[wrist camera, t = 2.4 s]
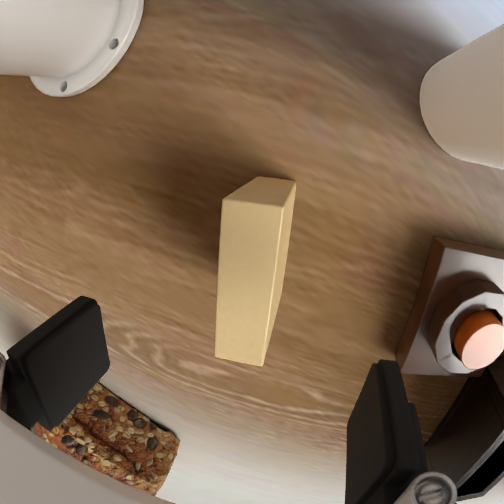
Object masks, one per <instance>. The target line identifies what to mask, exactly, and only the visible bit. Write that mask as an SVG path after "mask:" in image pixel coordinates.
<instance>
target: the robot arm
mask: <svg viewBox="0 0 504 504" xmlns="http://www.w3.org/2000/svg"><path fill="white" fill-rule="evenodd" d="M143 6H144V0H0V75H20V76H30V79H31V81H32V83H33V84H34V85H35V87H36V88H37V89H38V90H39V91H41V92H42V93H44V94H46V95H49V96H55V97H67V96H74V95H77V94H79V93H82V92H84V91H86V90H88V89H89V88H91V87H93V86H94V85H96V84H97V83H98V82H99V81H101V80H102V79H103V78H104V77H105V76H106V75H107V74H108V73H109V72H110V71H111V70H112V69H113V68H114V67H115V66H116V65H117V63H118V62H119V61H120V59H121V58H122V57H123V55H124V54H125V52H126V51H127V49H128V47H129V46H130V44H131V42H132V40H133V38H134V36H135V34H136V31H137V29H138V27H139V24H140V20H141V17H142V13H143ZM7 354H8V357H9V359H8V360H6V359H5V357H4V355H3V354H2V353H0V504H175V503H172V502H169V501H166V500H163V499H161V498H158V497H155V496H153V495H150V494H148V493H145V492H143V491H140V490H138V489H135V488H133V487H131V486H128V485H126V484H124V483H122V482H119V481H117V480H115V479H113V478H111V477H109V476H107V475H105V474H103V473H101V472H99V471H97V470H95V469H93V468H91V467H89V466H87V465H85V464H83V463H82V462H80V461H78V460H76V459H74V458H73V457H71V456H69V455H67V454H66V453H64V452H62V451H61V450H59V449H57V448H56V447H54V446H52V445H51V444H49V443H48V442H46V441H44V440H43V439H41V438H40V437H38V436H37V435H35V424H36V423H37V422H38V423H39V424H40V426H42V427H43V428H45V429H46V430H48V431H50V432H51V430H52V429H53V428H54V427H57V426H59V425H60V424H61V423H62V422H63V421H64V419H65V418H66V417H67V416H68V415H69V414H70V412H71V411H72V410H73V409H74V408H75V407H76V406H77V404H78V403H79V402H80V401H81V400H82V399H83V398H84V396H85V395H86V394H87V393H88V392H89V391H90V390H91V389H92V387H93V386H94V385H95V384H96V383H97V382H98V381H99V380H100V378H101V377H102V376H103V375H104V374H105V373H106V372H107V370H108V369H109V366H110V361H109V356H108V351H107V345H106V340H105V335H104V329H103V323H102V316H101V310H100V306H99V305H98V304H97V301H96V300H94V299H92V298H89V297H85V296H80V297H78V298H77V299H75V300H74V301H72V302H71V303H70V304H68V305H67V306H66V307H64V308H63V309H61V310H60V311H59V312H57V313H56V314H55V315H53V316H52V317H51V318H49V319H48V320H47V321H45V322H44V323H43V324H41V325H40V326H39V327H37V328H36V329H35V330H33V331H32V332H31V333H29V334H28V335H27V336H25V337H24V338H23V339H21V340H20V341H19V342H18V343H16V344H15V345H14V346H12V347H11V348H10V349H9V350H7ZM456 499H457V490H456V486H455V484H454V483H453V481H452V480H451V479H450V478H449V477H447V476H446V475H444V474H442V473H439V472H428V466H427V460H426V455H425V449H424V444H423V439H422V434H421V430H420V425H419V421H418V416H417V412H416V408H415V405H414V404H413V403H408V400H407V396H406V392H405V387H404V383H403V379H402V375H401V371H400V367H399V364H398V362H397V361H391V360H382V359H381V360H379V362H378V364H376V363H373V364H372V366H371V368H370V371H369V373H368V376H367V378H366V381H365V383H364V386H363V388H362V391H361V393H360V395H359V398H358V400H357V402H356V404H355V407H354V409H353V411H352V413H351V416H350V418H349V420H348V424H347V463H346V491H345V504H457V503H455V502H456Z"/></svg>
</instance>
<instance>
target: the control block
mask: <svg viewBox="0 0 504 504" xmlns="http://www.w3.org/2000/svg"><path fill="white" fill-rule="evenodd" d="M480 310H488V311H491V312H492V313H493V314H494V315H495V316H496V317H497V318H498V320H499V321H500V322H501V324H502V325H503V326H504V251H500V250H496V249H492V248H487V247H483V246H478V245H474V244H469V243H464V242H460V241H455V240H450V239H445V238H440V237H434V238H433V242H432V246H431V250H430V253H429V257H428V261H427V264H426V268H425V271H424V275H423V278H422V281H421V284H420V288H419V291H418V294H417V297H416V300H415V303H414V306H413V309H412V312H411V315H410V318H409V320H408V323H407V326H406V329H405V331H404V334H403V336H402V339H401V342H400V344H399V347H398V349H397V352H396V354H395V359H396V361H397V362H398V364H399V367H400V371H401V373H403V374H417V375H436V376H466V377H480V376H481V375H482V373H483V372H484V370H485V368H486V366H485V367H483V368H480V369H469V368H467V367H465V366H464V365H463V363H462V361H461V359H460V357H459V355H458V353H457V351H456V349H455V347H454V335H455V332H456V330H457V328H458V326H459V325H460V324H461V323H462V322H463V321H464V320H465V319H466V317H467V316H469V315H470V314H472V313H474V312H476V311H480ZM503 350H504V349H503Z"/></svg>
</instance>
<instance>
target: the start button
mask: <svg viewBox="0 0 504 504" xmlns="http://www.w3.org/2000/svg"><path fill="white" fill-rule="evenodd" d="M454 347H455V349H456V351H457V353H458V355H459V357H460V359H461V361H462V363H463V365H464V366H465V367H467V368H469V369H480V368H483V367H485V366H487V365H489V364H491V363H492V362H493V361H494V360H495V359H496V358H497V357H498V356H499V355H500V354H501V352H502V351H503V349H504V326H503V325H502V324H501V322H500V321H499V320H498V318H497V317H496V316H495V315H494V314H493V313H492V312H491V311H488V310H480V311H476V312H474V313H472V314H470V315H469V316H467V317H466V319H465V320H464V321H463V322H462V323H461V324H460V325H459V326H458V328H457V330H456V332H455V335H454Z"/></svg>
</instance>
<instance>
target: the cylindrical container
mask: <svg viewBox="0 0 504 504" xmlns="http://www.w3.org/2000/svg"><path fill="white" fill-rule="evenodd" d="M420 109H421V115H422V118H423V120H424V123H425V126H426V128H427V130H428V132H429V133H430V135H431V137H432V138H433V139H434V141H435V142H436V143H437V144H438V145H439V146H440V147H441V148H442V149H443V150H444V151H445V152H447V153H448V154H449V155H451V156H453V157H455V158H457V159H459V160H463V161H468V162H473V163H477V164H482V165H486V166H490V167H495V168H499V169H503V170H504V24H503V25H501V26H499V27H497V28H496V29H494V30H492V31H490V32H488V33H487V34H485V35H483V36H481V37H479V38H478V39H476V40H474V41H472V42H471V43H469V44H467V45H465V46H464V47H462V48H460V49H459V50H457V51H455V52H454V53H452V54H450V55H448V56H447V57H445V58H443V59H442V60H440V61H438V62H437V63H435V64H434V65H433V66H432V67H431V68H430V69H429V70H428V71H427V73H426V74H425V76H424V78H423V81H422V83H421V88H420Z"/></svg>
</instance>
